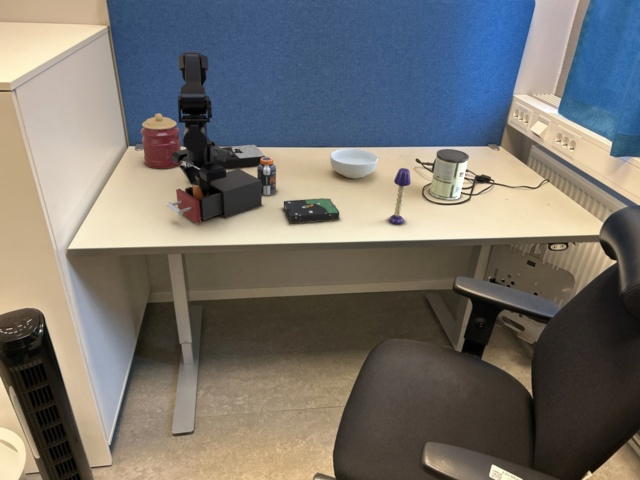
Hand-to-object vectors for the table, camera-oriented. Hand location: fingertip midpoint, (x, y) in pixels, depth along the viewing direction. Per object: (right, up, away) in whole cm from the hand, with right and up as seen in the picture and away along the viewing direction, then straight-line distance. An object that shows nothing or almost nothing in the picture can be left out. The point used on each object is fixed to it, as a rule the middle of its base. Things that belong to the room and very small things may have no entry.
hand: (200, 192), depth 133 cm
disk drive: (+31, -6, +8) cm, 32 cm away
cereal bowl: (+46, +10, +37) cm, 60 cm away
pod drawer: (-1, -6, +3) cm, 6 cm away
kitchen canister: (-22, +14, +36) cm, 45 cm away
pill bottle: (+16, +2, +20) cm, 26 cm away
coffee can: (+76, +2, +27) cm, 81 cm away
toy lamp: (+56, -8, +7) cm, 57 cm away
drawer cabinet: (+7, -3, +10) cm, 13 cm away
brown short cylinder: (0, -1, +1) cm, 1 cm away
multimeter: (+3, +15, +41) cm, 44 cm away
